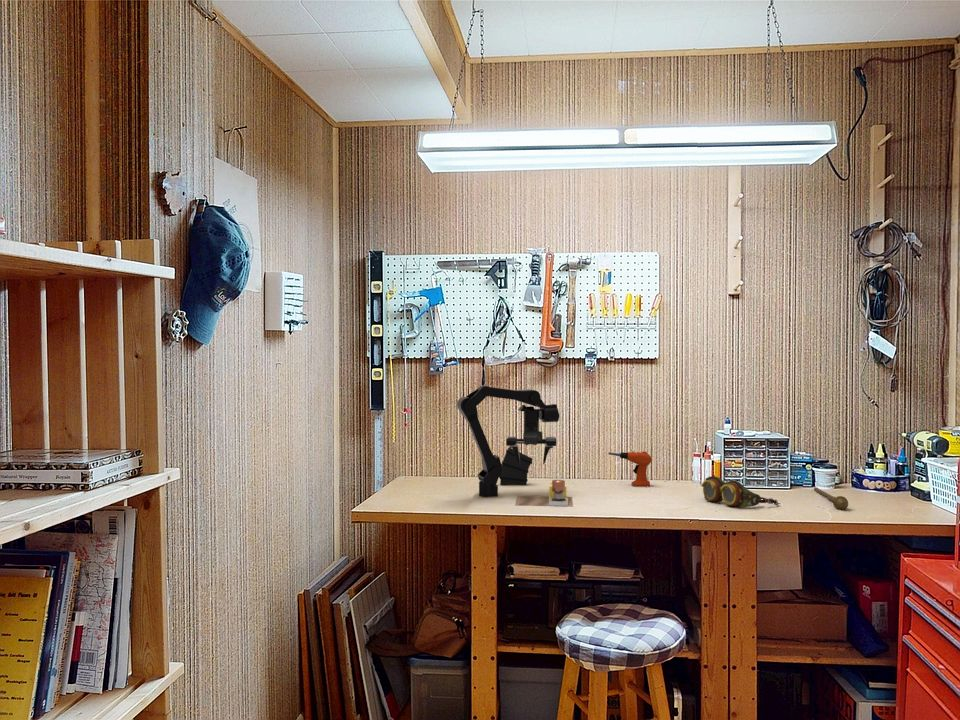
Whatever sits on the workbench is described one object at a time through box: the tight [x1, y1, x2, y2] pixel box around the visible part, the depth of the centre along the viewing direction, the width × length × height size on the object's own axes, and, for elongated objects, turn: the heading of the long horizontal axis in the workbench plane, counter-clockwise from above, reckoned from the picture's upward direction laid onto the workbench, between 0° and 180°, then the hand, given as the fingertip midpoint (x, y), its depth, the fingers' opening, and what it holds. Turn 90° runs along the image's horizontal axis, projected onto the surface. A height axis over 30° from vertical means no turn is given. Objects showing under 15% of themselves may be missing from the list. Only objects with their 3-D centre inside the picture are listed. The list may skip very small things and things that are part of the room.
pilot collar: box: [548, 497, 568, 507], centre depth 246 cm, size 7×7×2 cm
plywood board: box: [514, 495, 574, 508], centre depth 251 cm, size 20×16×1 cm
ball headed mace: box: [813, 486, 849, 510], centre depth 255 cm, size 5×35×5 cm
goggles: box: [700, 475, 779, 509], centre depth 252 cm, size 24×24×10 cm
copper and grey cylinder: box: [551, 479, 566, 501], centre depth 246 cm, size 4×4×8 cm
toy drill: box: [607, 450, 652, 488], centre depth 285 cm, size 5×18×14 cm, turn 82°
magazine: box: [499, 446, 534, 486], centre depth 287 cm, size 4×13×15 cm, turn 88°
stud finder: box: [549, 482, 567, 498], centre depth 254 cm, size 6×7×5 cm
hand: (531, 464), depth 265 cm, fingers open, 9 cm apart
